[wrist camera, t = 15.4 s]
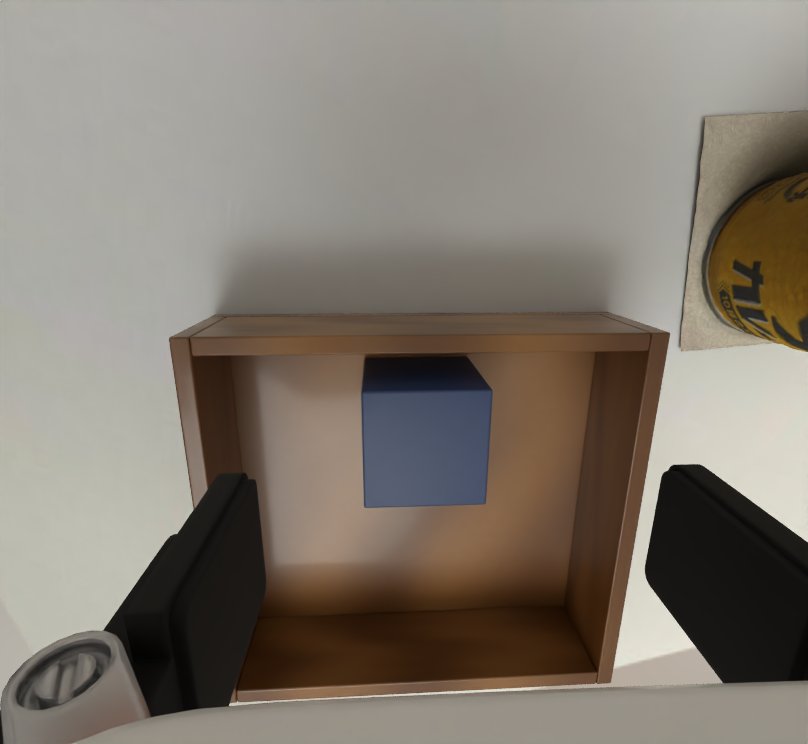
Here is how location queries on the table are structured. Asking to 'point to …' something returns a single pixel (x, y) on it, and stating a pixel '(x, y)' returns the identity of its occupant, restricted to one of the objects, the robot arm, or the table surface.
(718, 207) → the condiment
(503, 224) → the table surface
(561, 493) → the tray
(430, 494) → the blue cube
